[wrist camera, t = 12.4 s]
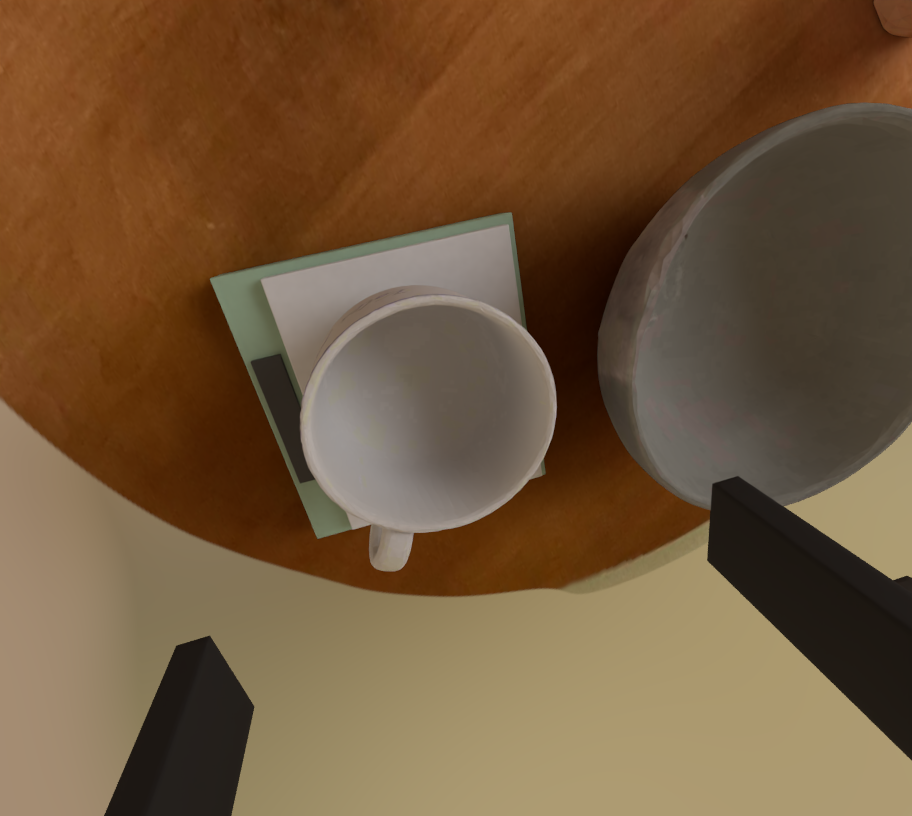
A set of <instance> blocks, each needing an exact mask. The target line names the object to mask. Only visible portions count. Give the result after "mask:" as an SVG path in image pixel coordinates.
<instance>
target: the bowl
mask: <svg viewBox="0 0 912 816" xmlns="http://www.w3.org/2000/svg"><path fill="white" fill-rule="evenodd" d="M597 359H598V377H599V383H600V389H601V394H602V397H603V401H604V404H605V407H606V409H607V412H608V414H609V417H610V419H611V421H612V424H613V426H614V428H615V430H616V432H617V434H618V436H619V438H620V439H621V441H622V443H623V444H624V446H625V448H626V449H627V451H628V452H629V453H630V455H631V456H632V457H633V459H634V460H635V461H636V462H637V463H638V464H639V465H640V466H641V467H642V468H643V469H644V470H645V471H646V472H647V473H648V474H649V475H650V476H651V477H652V478H653V479H654V480H656V481H657V482H658V483H659V484H660V485H662V486H663V487H664V488H666V489H667V490H668V491H670V492H671V493H673V494H674V495H676V496H677V497H679V498H680V499H682V500H684V501H686V502H688V503H690V504H693V505H695V506H699V507H702V508H705V509H709V510H711V496H712V484H713V483H716V482H719V481H723V480H726V479H729V478H732V477H736V476H739V477H740V478H742V479H743V480H745V481H746V482H748V483H749V484H751V485H752V486H754V487H755V488H757V489H758V490H760V491H761V492H763V493H764V494H766V495H767V496H769V497H770V498H772V499H773V500H775V501H776V502H777V503H779V504H780V505H782V506H786V505H789V504H792V503H796V502H799V501H801V500H804V499H806V498H809V497H811V496H814V495H816V494H818V493H820V492H822V491H824V490H826V489H828V488H830V487H832V486H834V485H836V484H838V483H839V482H841V481H843V480H845V479H846V478H848V477H849V476H851V475H852V474H854V473H855V472H857V471H858V470H860V469H861V468H862V467H864V466H865V465H866V464H868V463H869V462H870V461H872V460H873V459H874V458H876V457H877V456H878V455H879V454H881V453H882V452H883V451H884V450H886V449H887V448H888V447H889V446H890V445H891V444H892V443H893V442H894V441H895V440H896V439H897V438H898V437H899V436H900V435H901V434H902V433H903V432H904V431H905V430H906V428H907V427H908V426H909V425H910V424H911V422H912V109H909V108H905V107H900V106H895V105H891V104H881V103H850V104H842V105H837V106H832V107H828V108H825V109H821V110H818V111H814V112H811V113H808V114H805V115H802V116H799V117H796V118H793V119H790V120H788V121H786V122H783V123H781V124H778V125H776V126H774V127H771V128H769V129H767V130H765V131H763V132H761V133H759V134H757V135H755V136H753V137H751V138H749V139H748V140H746V141H744V142H742V143H741V144H739V145H737V146H735V147H733V148H732V149H730V150H728V151H727V152H725V153H724V154H722V155H721V156H719V157H718V158H716V159H715V160H714V161H712V162H711V163H709V164H708V165H707V166H705V167H704V168H703V169H702V170H700V171H699V172H698V173H696V174H695V175H694V176H692V177H691V178H690V179H689V180H688V181H687V182H686V183H685V184H684V185H683V186H682V187H680V188H679V189H678V191H677V192H676V193H675V194H674V195H673V196H672V197H671V198H670V199H669V200H668V201H667V202H666V204H665V205H664V206H663V207H662V208H661V209H660V210H659V211H658V213H657V214H656V215H655V216H654V218H653V219H652V220H651V221H650V223H649V224H648V225H647V226H646V228H645V229H644V230H643V232H642V233H641V234H640V236H639V237H638V239H637V240H636V242H635V243H634V244H633V245H632V247H631V248H630V250H629V252H628V253H627V255H626V257H625V259H624V261H623V263H622V265H621V267H620V269H619V272H618V275H617V277H616V279H615V282H614V285H613V287H612V290H611V293H610V295H609V298H608V301H607V304H606V307H605V311H604V314H603V317H602V321H601V325H600V329H599V331H598V352H597Z"/></svg>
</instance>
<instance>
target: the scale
mask: <svg viewBox="0 0 912 816" xmlns="http://www.w3.org/2000/svg"><path fill="white" fill-rule="evenodd" d="M210 281H211V284H212V286H213V288H214V291H215V293H216V296H217V298H218V300H219V303H220V305H221V308H222V310H223V312H224V315H225V317H226V320H227V322H228V324H229V327H230V329H231V332H232V334H233V337H234V339H235V341H236V344H237V346H238V349H239V351H240V353H241V356H242V358H243V361H244V363H245V365H246V368H247V370H248V373H249V375H250V377H251V380H252V382H253V385H254V387H255V390H256V392H257V394H258V397H259V399H260V402H261V404H262V406H263V409H264V411H265V414H266V416H267V418H268V421H269V423H270V426H271V428H272V430H273V433H274V435H275V438H276V440H277V443H278V445H279V447H280V450H281V452H282V455H283V457H284V459H285V462H286V464H287V467H288V469H289V471H290V474H291V476H292V479H293V481H294V483H295V486H296V488H297V491H298V493H299V496H300V498H301V500H302V503H303V505H304V508H305V510H306V512H307V515H308V517H309V520H310V522H311V524H312V527H313V529H314V532H315V534H316V536H317V539H319V538H322V537H326V536H329V535H333V534H336V533H340V532H343V531H347V530H350V529H357V528H360V527H364V526H367V525H371V523H368V522H366V521H364V520H361V519H359V518H357V517H355V516H353V515H351V514H350V513H348V512H346V511H345V510H343V509H341V508H340V507H339V506H338V505H337V504H336V503H335V502H333V501H332V500H331V499H330V498H329V497H328V496H327V495H326V494H325V492H324V491H323V490H322V489H321V488H320V486H319V484H318V482H317V481H316V479H315V478H314V476H313V474H312V473H311V471H310V469H309V468H308V465H307V462H306V459H305V457H304V453H303V449H302V442H301V436H300V412H301V401H302V398H303V394H304V390H305V387H306V384H307V382H308V379H309V377H310V374H311V371H312V367H313V364H314V361H315V358H316V356H317V353H318V351H319V348H320V346H321V344H322V343H323V341H324V339H325V337H326V336H327V334H328V332H329V331H330V330H331V328H332V327H333V326H334V324H335V323H336V322H337V321H338V320H339V319H340V318H341V317H342V316H343V315H344V314H345V313H346V312H347V311H348V310H349V309H351V308H352V307H353V306H354V305H356V304H357V303H359V302H360V301H362V300H364V299H365V298H367V297H369V296H371V295H373V294H376V293H378V292H381V291H384V290H387V289H391V288H395V287H400V286H409V285H427V286H434V287H440V288H444V289H448V290H451V291H454V292H457V293H460V294H462V295H465V296H467V297H469V298H472V299H475V300H478V301H481V302H483V303H486V304H489V305H491V306H492V307H495V308H497V309H499V310H500V311H502V312H504V313H505V314H507V315H509V316H510V317H511V318H512V319H514V320H515V321H516V322H517V323H518V324H519V325H521V326H522V327H524V328H525V329H526V330H527V327H526V319H525V311H524V304H523V296H522V288H521V281H520V273H519V265H518V258H517V250H516V242H515V235H514V227H513V219H512V213H511V212H509V213H499V214H494V215H490V216H485V217H481V218H476V219H471V220H467V221H462V222H458V223H453V224H449V225H444V226H439V227H435V228H430V229H426V230H421V231H417V232H412V233H408V234H403V235H398V236H394V237H389V238H385V239H380V240H376V241H371V242H366V243H362V244H357V245H353V246H348V247H344V248H339V249H335V250H330V251H325V252H321V253H316V254H312V255H307V256H303V257H298V258H293V259H289V260H284V261H280V262H275V263H271V264H266V265H262V266H257V267H252V268H248V269H243V270H239V271H234V272H230V273H225V274H221V275H218V276H215V277H213V278H210ZM544 474H546V473H545V465H544V458H543V460H542V462H541V463H540V465H539V467H538V469H537V470H536V471H535V473H534V474H533V475H532V476H531V477H530V479H533V478H537V477H540V476H542V475H544ZM530 479H529V480H530Z"/></svg>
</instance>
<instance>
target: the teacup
mask: <svg viewBox="0 0 912 816" xmlns="http://www.w3.org/2000/svg"><path fill="white" fill-rule="evenodd" d="M556 412H557V404H556V388H555V383H554V378H553V375H552V372H551V369H550V366H549V363H548V361H547V359H546V357H545V355H544V353H543V351H542V349H541V348H540V347H539V345H538V344H537V342H536V341H535V340H534V339H533V337H532V336H531V335H530V334H529V333H528V332H527V330H526V329H525V328H524V327H522V326H521V325H519V324H518V323H517V322H516V321H515V320H514V319H512V318H511V317H510V316H509V315H507V314H505V313H504V312H502V311H500V310H499V309H497V308H495V307H492V306H491V305H489V304H486V303H483V302H481V301H478V300H475V299H472V298H469V297H467V296H465V295H462V294H460V293H457V292H454V291H451V290H448V289H444V288H440V287H434V286H427V285H409V286H400V287H395V288H391V289H387V290H384V291H381V292H378V293H376V294H373V295H371V296H369V297H367V298H365V299H364V300H362V301H360V302H359V303H357V304H356V305H354V306H353V307H352V308H351V309H349V310H348V311H347V312H346V313H345V314H344V315H343V316H342V317H341V318H340V319H339V320H338V321H337V322H336V323H335V324H334V326H333V327H332V328H331V330H330V331H329V332H328V334H327V336H326V337H325V339H324V341H323V343H322V344H321V346H320V348H319V351H318V353H317V356H316V358H315V361H314V364H313V367H312V371H311V374H310V377H309V379H308V382H307V384H306V387H305V390H304V394H303V398H302V401H301V412H300V436H301V442H302V449H303V453H304V457H305V459H306V462H307V465H308V468H309V469H310V471H311V473H312V474H313V476H314V478H315V479H316V481H317V482H318V484H319V486H320V488H321V489H322V490H323V491H324V492H325V494H326V495H327V496H328V497H329V498H330V499H331V500H332V501H333V502H335V503H336V504H337V505H338V506H339V507H340V508H341V509H343V510H345V511H346V512H348V513H350V514H351V515H353V516H355V517H357V518H359V519H361V520H364V521H366V522H368V523H371V530H370V541H369V556H370V562H371V564H372V565H373V567H375V568H376V569H378V570H382V571H397V570H400V569H401V568H402V567H403V566H404V565H405V564H406V562H407V559H408V556H409V554H410V550H411V546H412V541H413V534H414V533H424V532H434V531H440V530H443V529H452V528H456V527H460V526H463V525H466V524H469V523H472V522H474V521H477V520H479V519H480V518H482V517H484V516H486V515H488V514H490V513H492V512H493V511H495V510H496V509H498V508H499V507H501V506H502V505H503V504H505V503H506V502H507V501H509V500H510V499H511V498H512V497H513V496H514V495H515V494H516V493H517V492H518V491H520V490H521V488H522V487H523V486H524V485H525V484H526V483H527V482H528V480H529V479H530V477H531V476H532V475H533V474H534V473H535V471H536V470H537V469H538V467H539V465H540V463H541V462H542V460H543V458H544V456H545V454H546V452H547V449H548V447H549V444H550V442H551V439H552V436H553V431H554V427H555V420H556Z"/></svg>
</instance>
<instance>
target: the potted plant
mask: <svg viewBox="0 0 912 816" xmlns="http://www.w3.org/2000/svg"><path fill="white" fill-rule="evenodd" d="M874 6H875V8H876V11H877V14H878V16H879V19H880V21H881V24H882V26H883V28H884V29H885V30H886V31H888V32H889V33H890V34H892V35H897V36H902V37H912V0H874Z"/></svg>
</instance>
